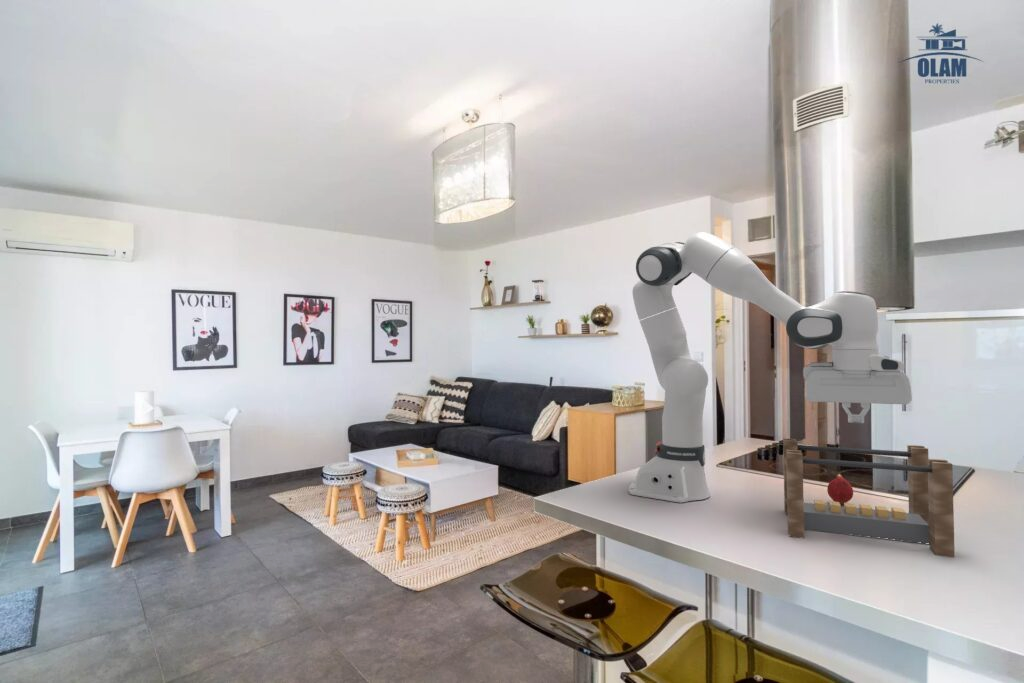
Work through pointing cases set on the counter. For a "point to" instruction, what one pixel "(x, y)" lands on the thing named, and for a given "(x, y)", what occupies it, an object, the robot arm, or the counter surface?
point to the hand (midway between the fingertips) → (856, 422)
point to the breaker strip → (865, 521)
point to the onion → (840, 490)
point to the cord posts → (924, 491)
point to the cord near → (868, 465)
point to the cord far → (855, 450)
